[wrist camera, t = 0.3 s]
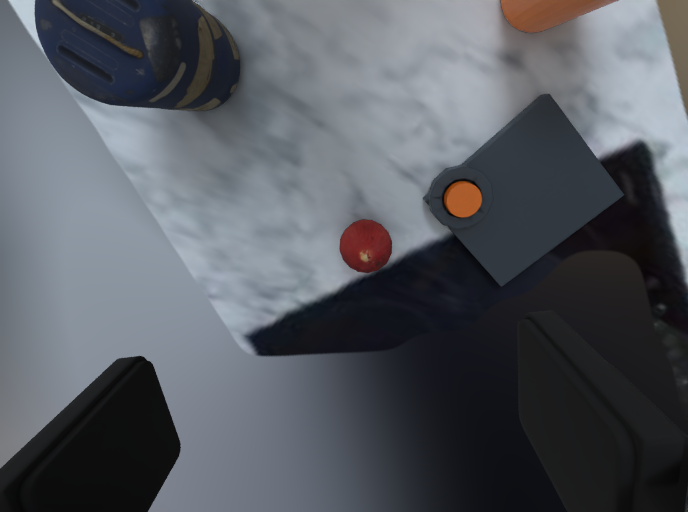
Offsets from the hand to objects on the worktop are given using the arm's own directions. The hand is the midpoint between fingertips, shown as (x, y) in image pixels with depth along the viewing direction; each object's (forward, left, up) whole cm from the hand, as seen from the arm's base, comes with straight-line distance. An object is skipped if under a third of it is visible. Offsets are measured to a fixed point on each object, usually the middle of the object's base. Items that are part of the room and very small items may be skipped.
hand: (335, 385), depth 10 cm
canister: (-20, -4, -37) cm, 42 cm away
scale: (+14, +12, -37) cm, 41 cm away
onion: (+6, -4, -37) cm, 37 cm away
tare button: (+8, +7, -33) cm, 35 cm away
